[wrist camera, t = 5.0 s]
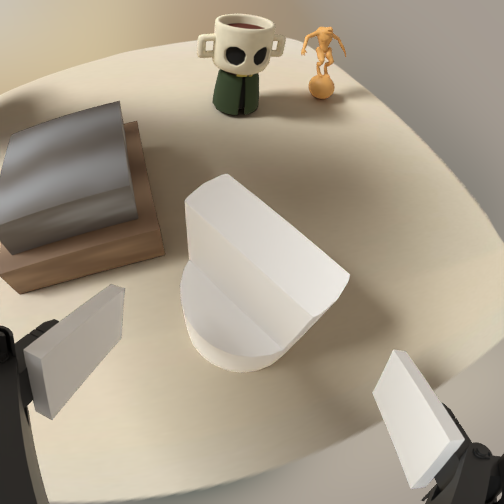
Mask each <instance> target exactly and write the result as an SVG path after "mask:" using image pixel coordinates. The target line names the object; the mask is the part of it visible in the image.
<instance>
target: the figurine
mask: <svg viewBox="0 0 504 504" xmlns="http://www.w3.org/2000/svg"><path fill="white" fill-rule="evenodd" d="M314 36H317V37H318V41H319V46H320V47H317V48H316V52H317V56H318V59H319V61H320V62H317V75H316V76H314V77H313V78H312V79H311V80H310V82H309V90H310V92H311V94H312V95H313V96H314V97H316V98H319V99H326V98H328V97H330V96H331V95H332V94H333V92H334V83H333V81H332V80H331V79H330V76H329V75H328V72H327V66H330V65H331V64H333V62H334V60H333V57H332V50H331V48H330V47H329V48H328V46H329V44H330V42H331V40H332V37H333V38H334V39H336V40H338V42H339V44H340V46H341V48H342V50H343V51H344V53H345V57H346V52H345V49H344V46H343V45H342V43H341V40H340V39H339V37H338V36H336V35H335V34H334V33H333V29H332V27H327V28H326V27H319V28H318V29H317V31H315V32H313V33H311V34H309V35H307V36H306V37H305V41H304V45H303V48H302V52H301V55H302V53H304V55H305V52H306V50H305V48H306V46H307V42H308V39H309V38H311V37H314ZM306 53H307V52H306ZM324 53H325V54H324ZM325 55H326V58H327V59H328V60H329V62H326V63H325V65H324V75H321V72H320V68H319V66H321V65H322V64H323V63H324V58H325Z"/></svg>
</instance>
